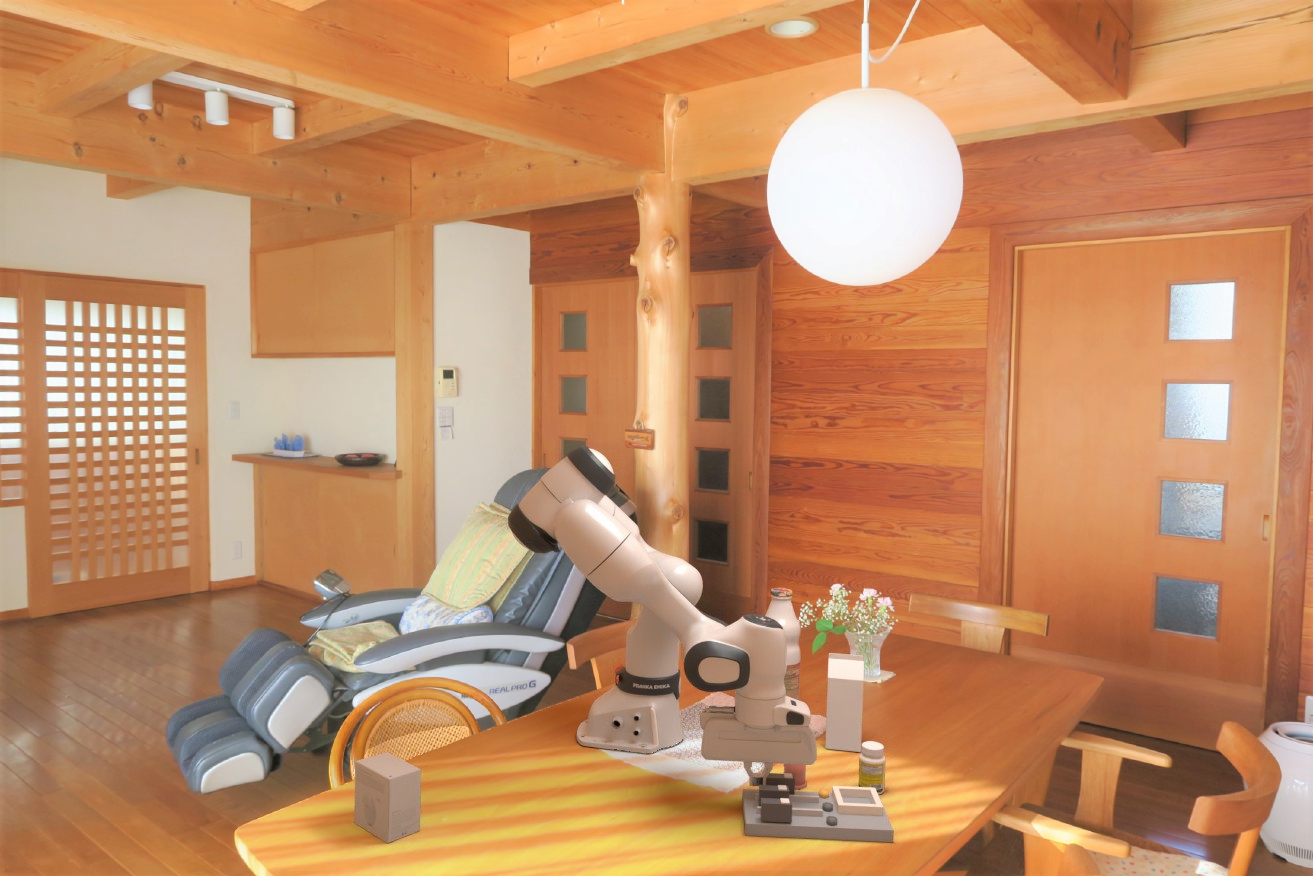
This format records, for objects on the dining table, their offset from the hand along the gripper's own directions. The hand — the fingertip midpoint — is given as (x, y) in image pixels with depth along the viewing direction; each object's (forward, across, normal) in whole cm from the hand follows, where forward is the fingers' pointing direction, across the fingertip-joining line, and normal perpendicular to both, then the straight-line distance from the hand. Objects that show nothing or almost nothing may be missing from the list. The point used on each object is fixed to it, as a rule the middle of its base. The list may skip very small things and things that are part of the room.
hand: (757, 785), depth 162 cm
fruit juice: (+4, +7, +47) cm, 48 cm away
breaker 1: (+2, +4, 0) cm, 4 cm away
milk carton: (+4, +19, +30) cm, 35 cm away
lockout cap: (+4, +8, +9) cm, 12 cm away
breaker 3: (+2, +3, -10) cm, 10 cm away
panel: (+4, +10, -5) cm, 11 cm away
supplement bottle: (+4, +22, +8) cm, 23 cm away
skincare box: (+4, -61, -14) cm, 63 cm away
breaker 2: (+2, +3, -5) cm, 6 cm away
